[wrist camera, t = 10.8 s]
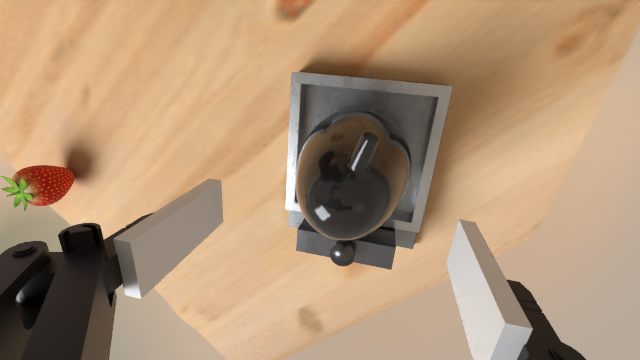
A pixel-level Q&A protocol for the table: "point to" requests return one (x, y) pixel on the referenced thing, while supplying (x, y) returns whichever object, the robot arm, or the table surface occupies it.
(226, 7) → the table surface
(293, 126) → the tray unit
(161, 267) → the robot arm
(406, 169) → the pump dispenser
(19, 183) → the fruit
